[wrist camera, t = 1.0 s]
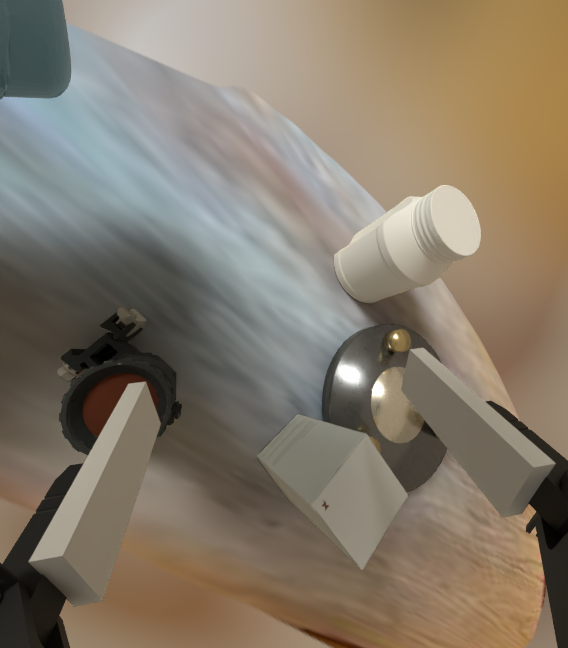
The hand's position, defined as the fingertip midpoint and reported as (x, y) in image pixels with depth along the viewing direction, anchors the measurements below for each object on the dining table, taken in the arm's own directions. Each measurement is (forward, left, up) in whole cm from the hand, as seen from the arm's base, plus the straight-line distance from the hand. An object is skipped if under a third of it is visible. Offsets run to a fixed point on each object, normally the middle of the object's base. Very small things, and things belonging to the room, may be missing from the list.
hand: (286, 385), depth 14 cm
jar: (-2, +28, -19) cm, 34 cm away
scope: (-5, -6, -19) cm, 20 cm away
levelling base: (+16, +18, -19) cm, 31 cm away
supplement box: (+13, +3, -19) cm, 23 cm away
